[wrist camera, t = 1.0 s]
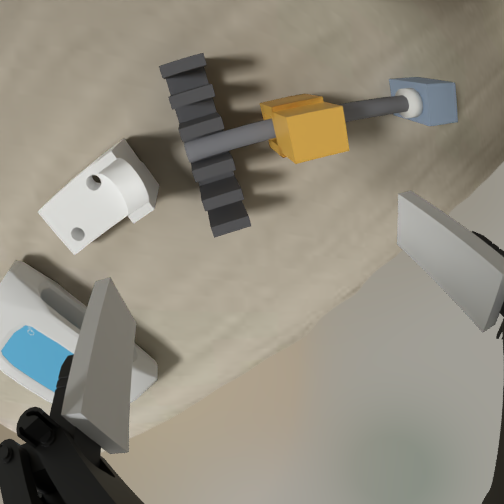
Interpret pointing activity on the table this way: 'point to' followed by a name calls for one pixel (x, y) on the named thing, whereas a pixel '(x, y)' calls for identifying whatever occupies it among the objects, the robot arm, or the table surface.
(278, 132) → the yellow notched block
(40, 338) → the document scanner
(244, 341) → the table surface
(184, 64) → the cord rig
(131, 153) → the bracket
